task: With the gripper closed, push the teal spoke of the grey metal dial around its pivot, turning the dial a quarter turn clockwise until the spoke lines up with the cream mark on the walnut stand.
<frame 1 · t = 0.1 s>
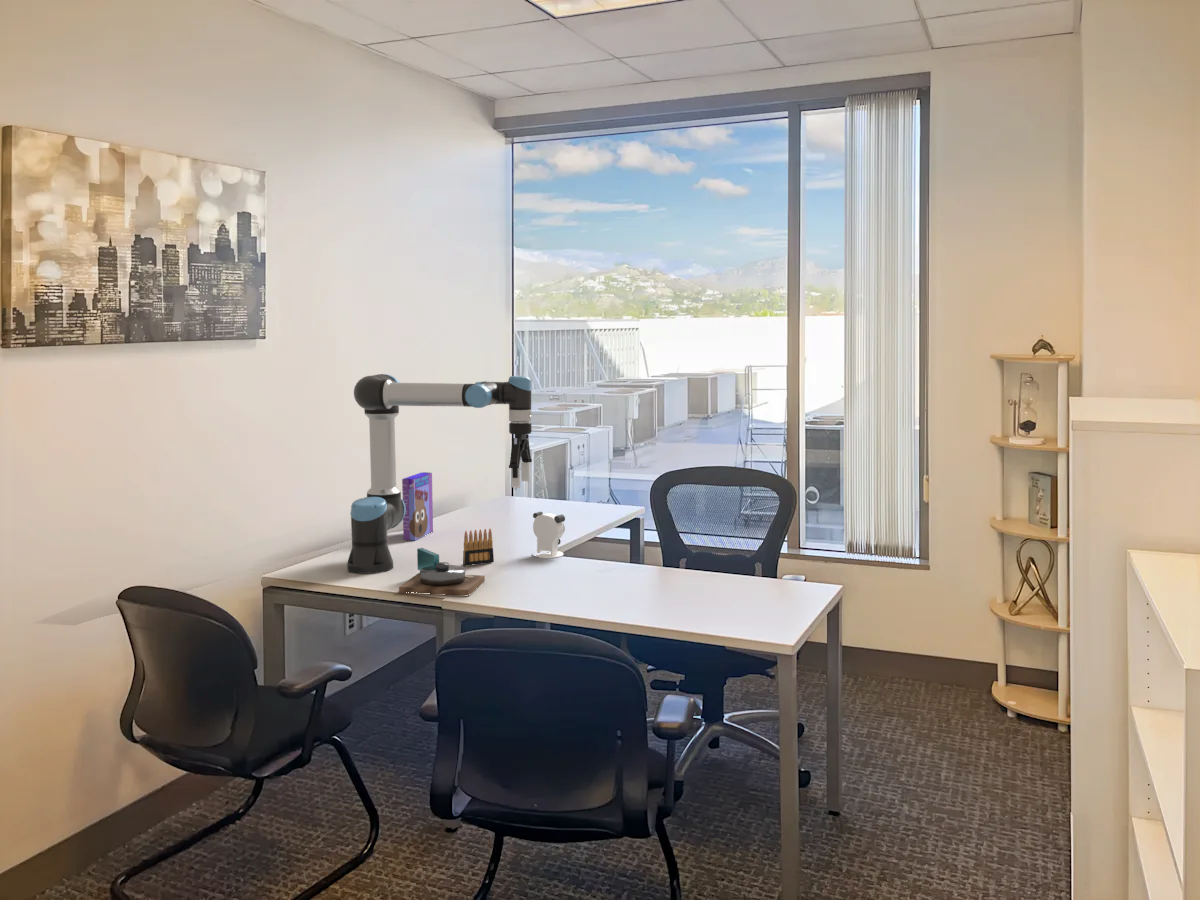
hand: (520, 484, 341), 28 cm above the table, tool pointing down, fingers open, 13 cm apart
panda figurine: (548, 555, 359), on the table
cereal box: (418, 536, 391), on the table
ammunition clip: (478, 564, 346), on the table
dial: (436, 565, 317), point 6 cm above the table, hinge at 135.0°
stand: (442, 587, 314), on the table
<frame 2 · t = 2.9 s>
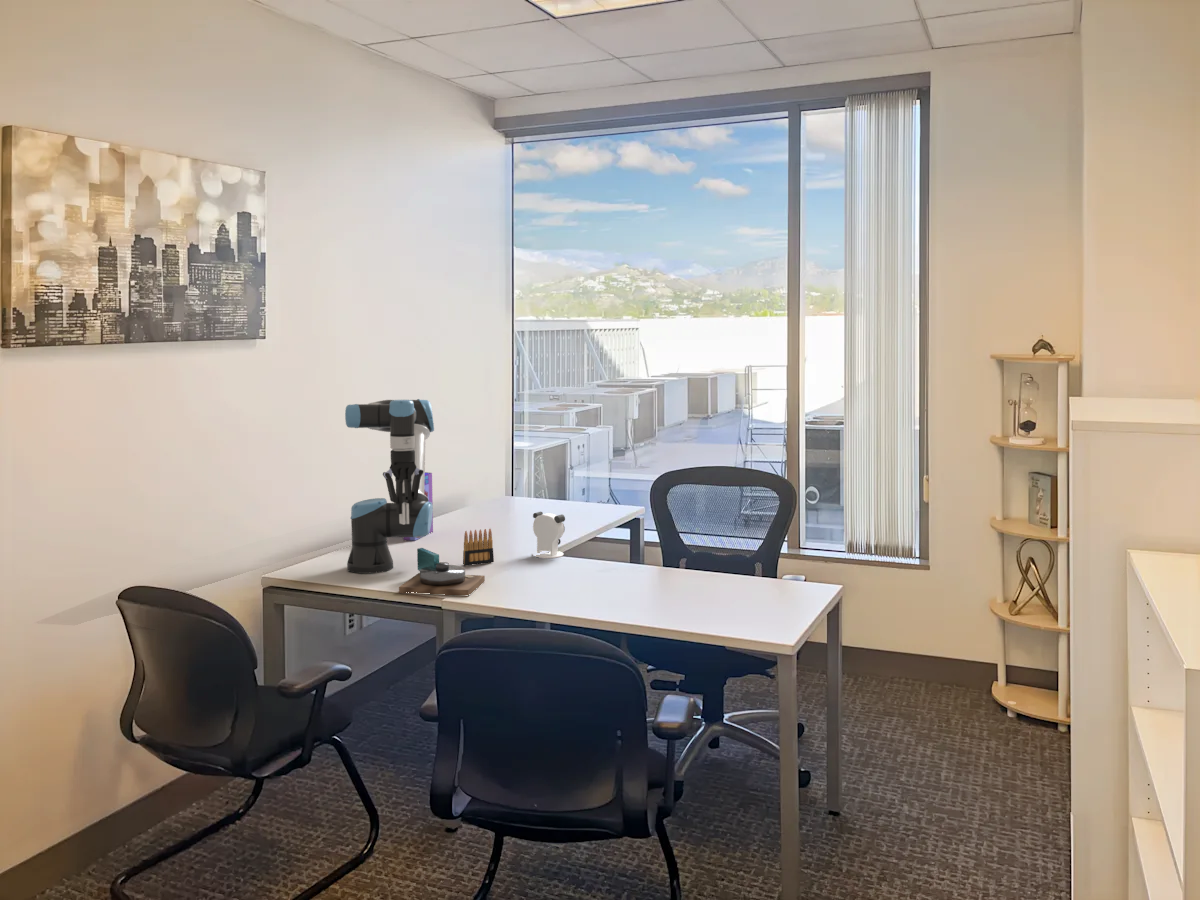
hand: (404, 523, 316), 19 cm above the table, tool pointing down, fingers closed
nothing on the table moved.
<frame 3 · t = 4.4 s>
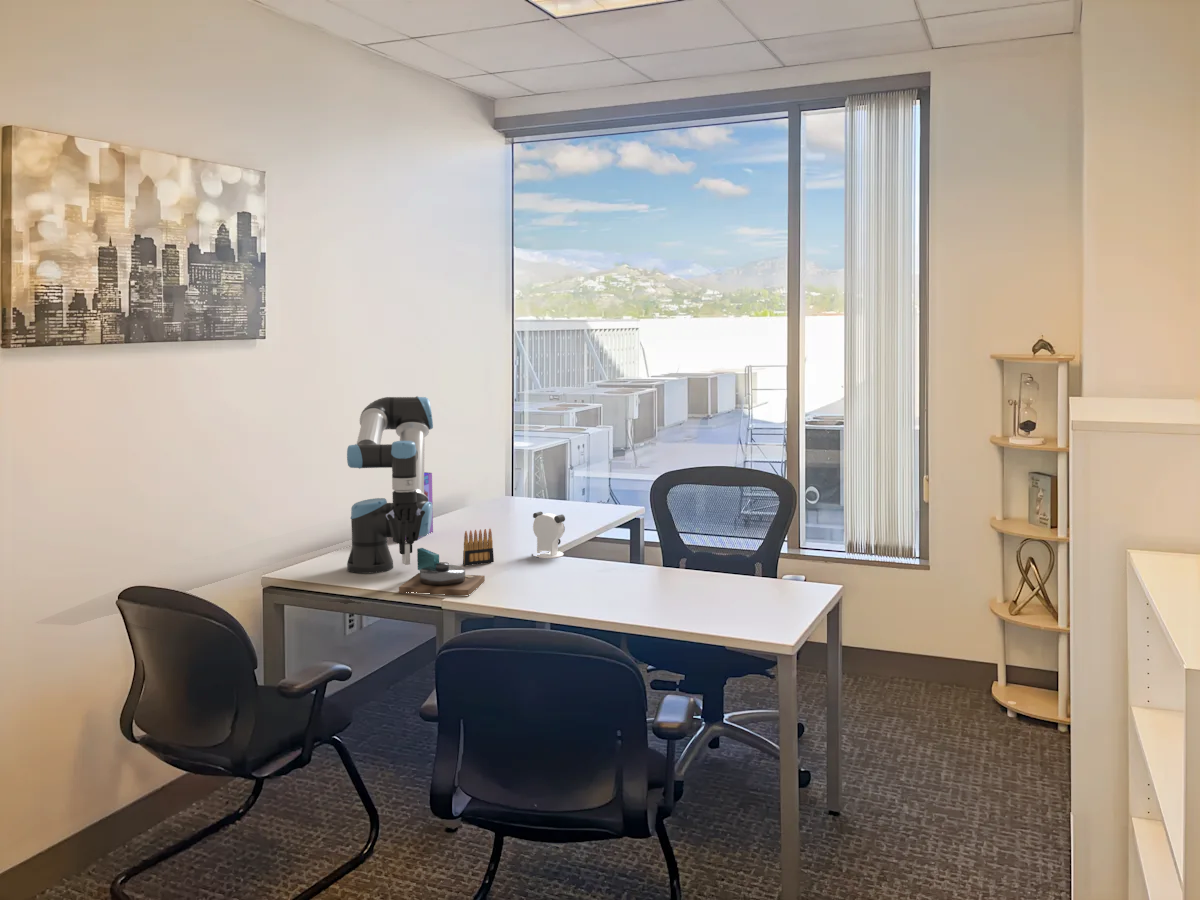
hand: (406, 563, 318), 6 cm above the table, tool pointing down, fingers closed
nothing on the table moved.
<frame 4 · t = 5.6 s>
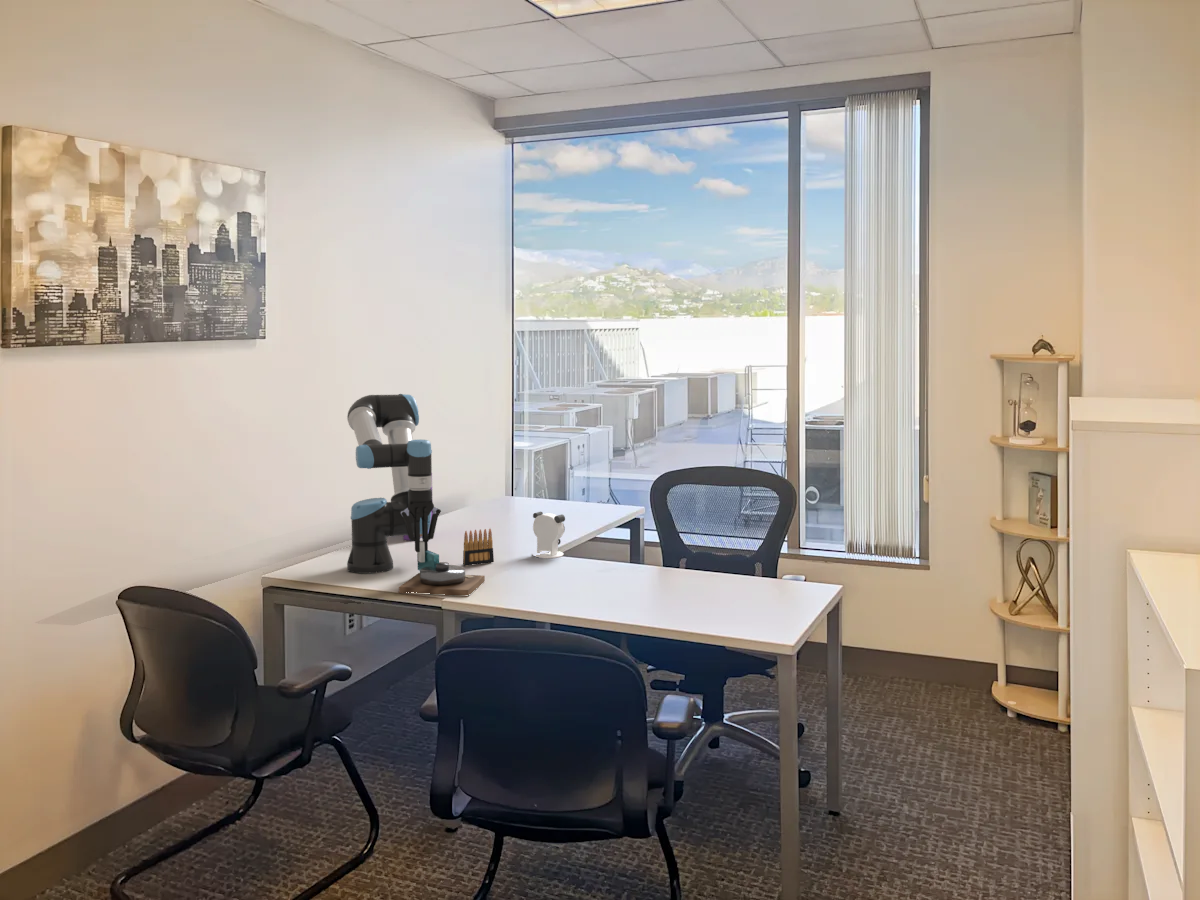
hand: (421, 561, 321), 6 cm above the table, tool pointing down, fingers closed
dial: (436, 565, 317), point 6 cm above the table, hinge at 135.0°, touching gripper
everything else where it was.
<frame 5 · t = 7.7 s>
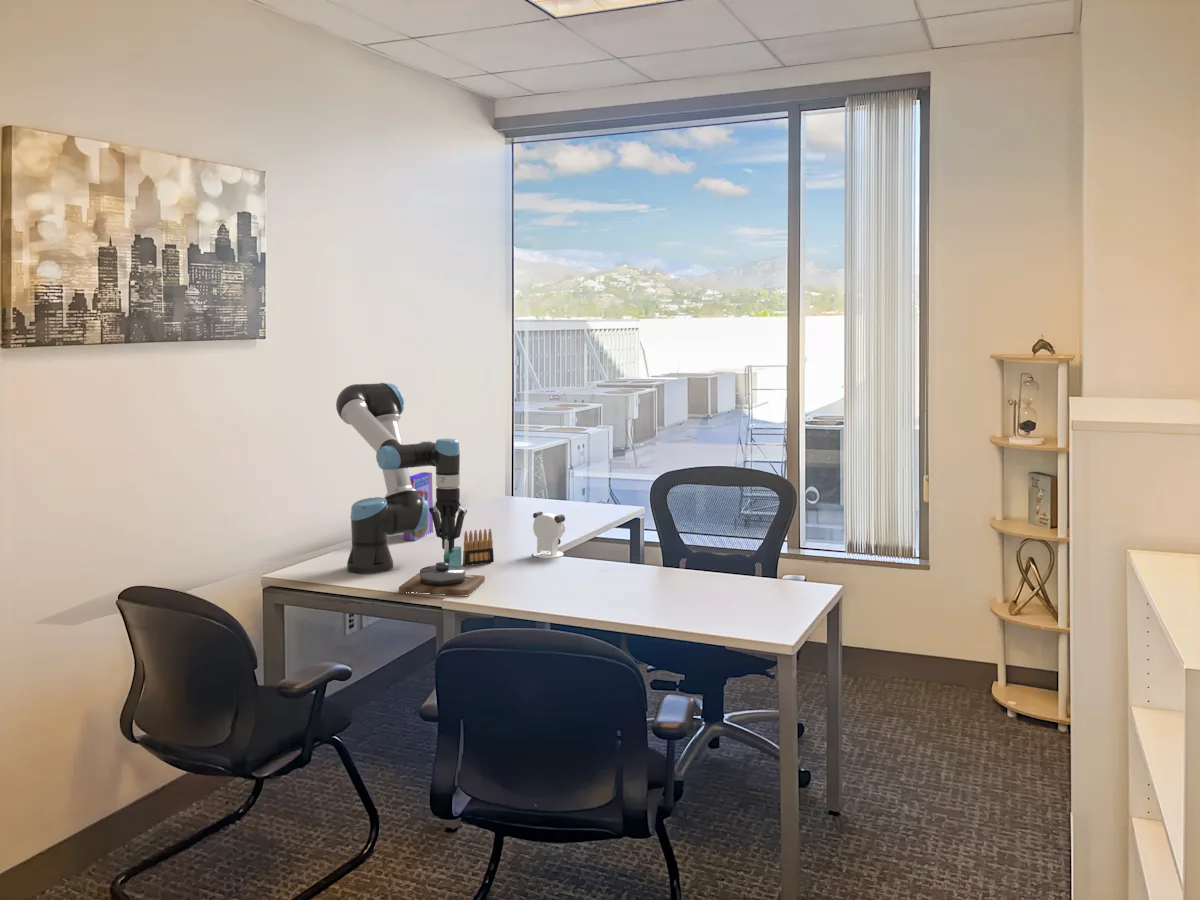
hand: (448, 559, 324), 6 cm above the table, tool pointing down, fingers closed
dial: (447, 565, 318), point 6 cm above the table, hinge at 89.1°, touching gripper
everything else where it was.
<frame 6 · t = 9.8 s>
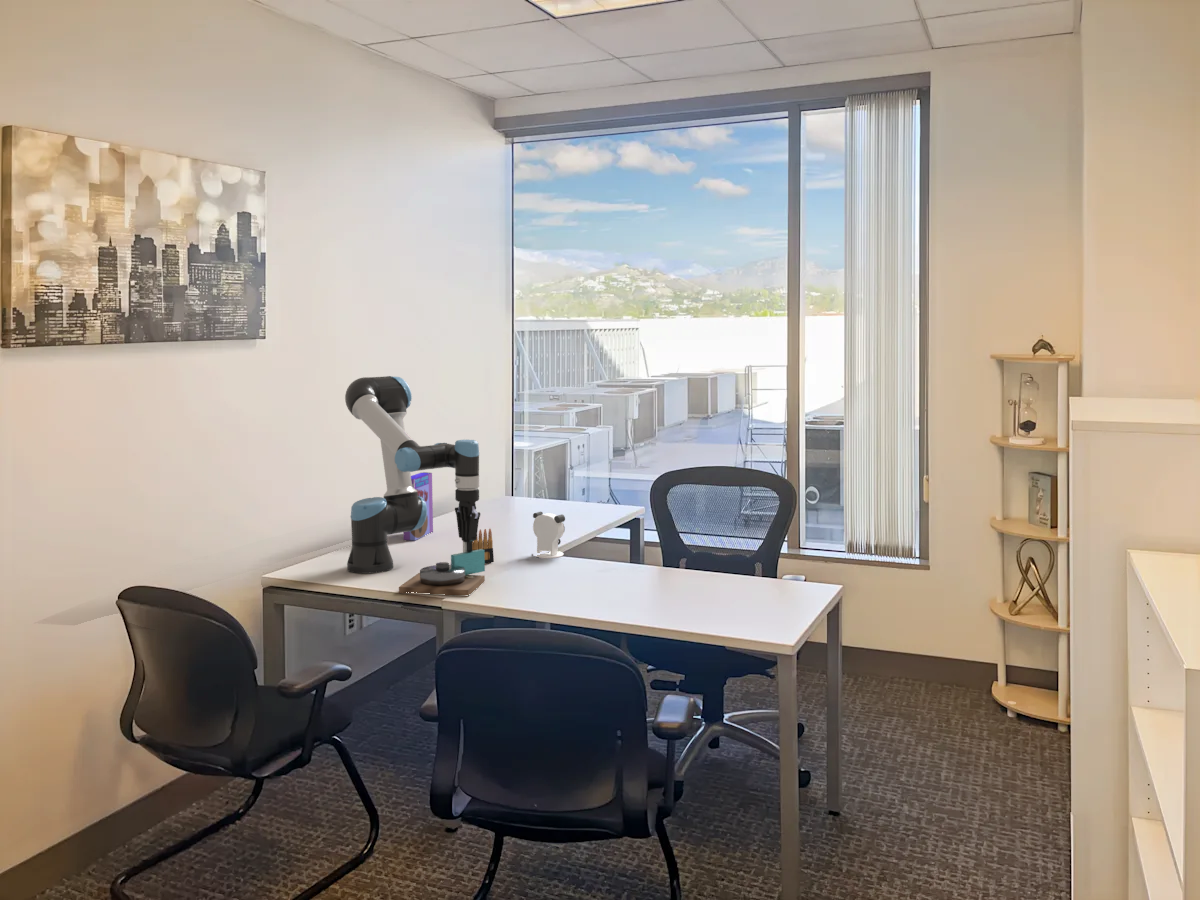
hand: (467, 560, 322), 6 cm above the table, tool pointing down, fingers closed
dial: (454, 565, 316), point 6 cm above the table, hinge at 54.3°, touching gripper
everything else where it was.
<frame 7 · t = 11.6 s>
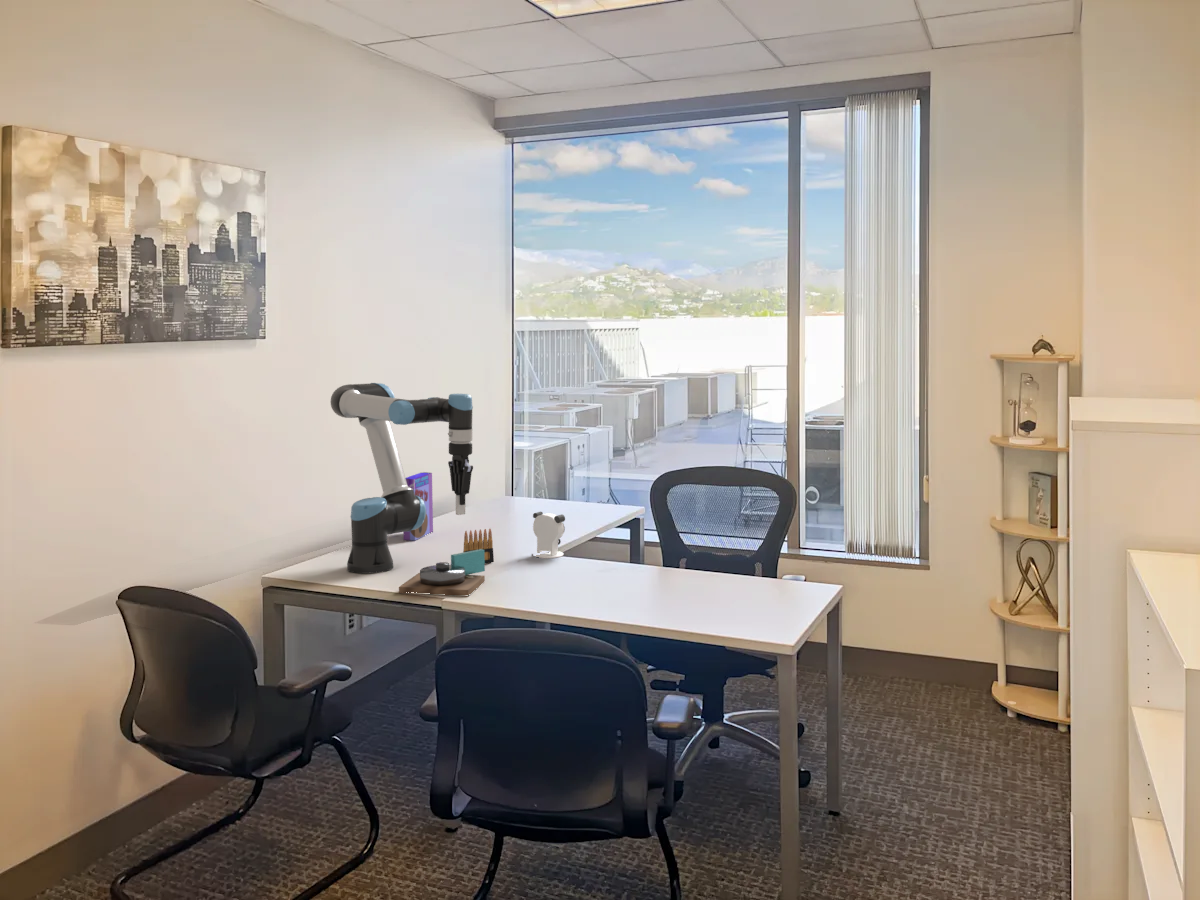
hand: (460, 514, 325), 21 cm above the table, tool pointing down, fingers closed
dial: (454, 565, 316), point 6 cm above the table, hinge at 54.4°
everything else where it was.
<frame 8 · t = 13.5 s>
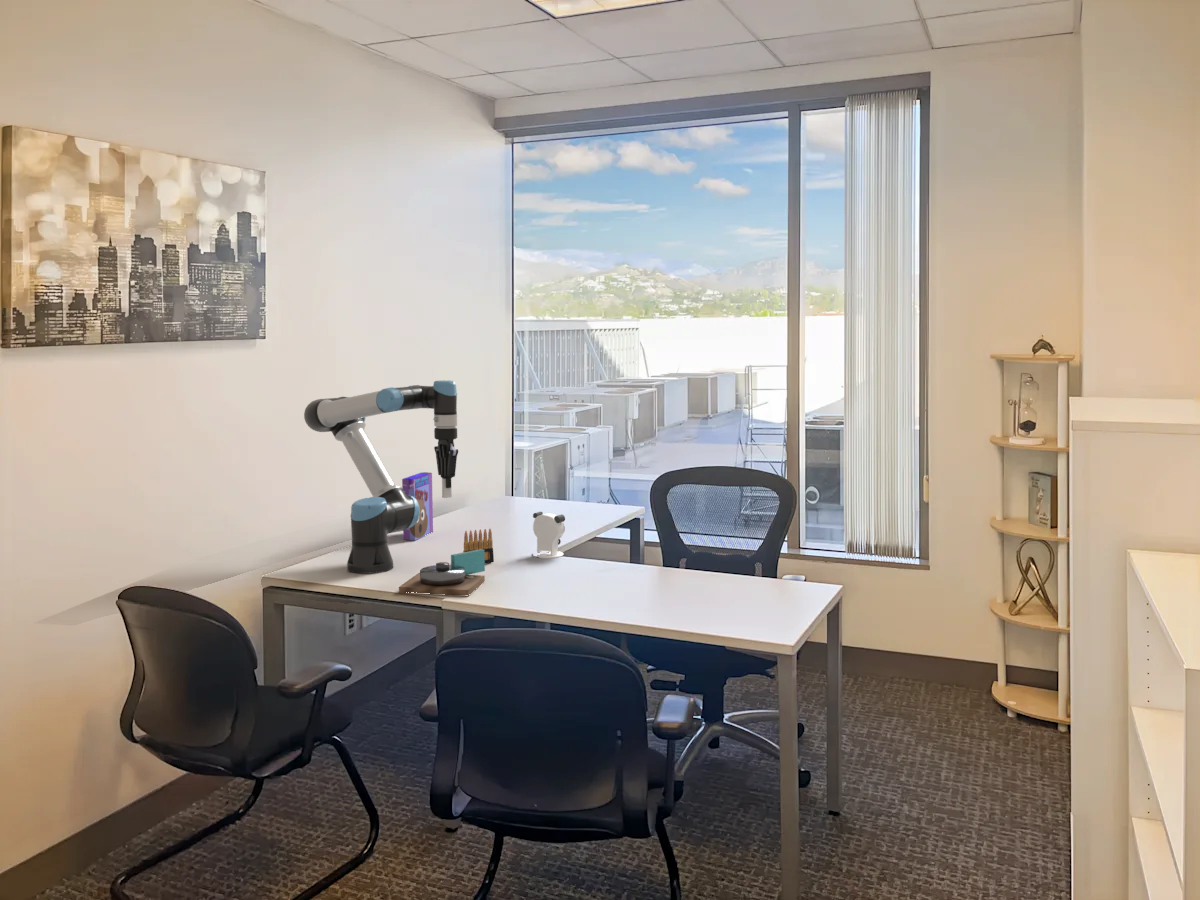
hand: (446, 497, 336), 24 cm above the table, tool pointing down, fingers closed
nothing on the table moved.
at the end: dial at +54° (first picture: +135°) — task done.
